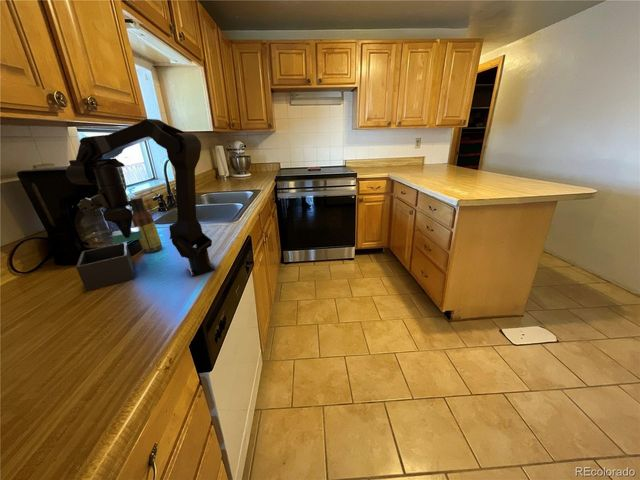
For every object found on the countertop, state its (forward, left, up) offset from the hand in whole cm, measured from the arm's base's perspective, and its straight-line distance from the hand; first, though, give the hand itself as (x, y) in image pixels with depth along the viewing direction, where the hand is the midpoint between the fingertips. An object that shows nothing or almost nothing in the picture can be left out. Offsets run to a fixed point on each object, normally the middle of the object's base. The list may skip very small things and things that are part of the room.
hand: (127, 235), depth 81 cm
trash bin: (-1, +7, -11) cm, 13 cm away
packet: (0, 0, -1) cm, 1 cm away
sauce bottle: (+14, -5, -11) cm, 19 cm away
